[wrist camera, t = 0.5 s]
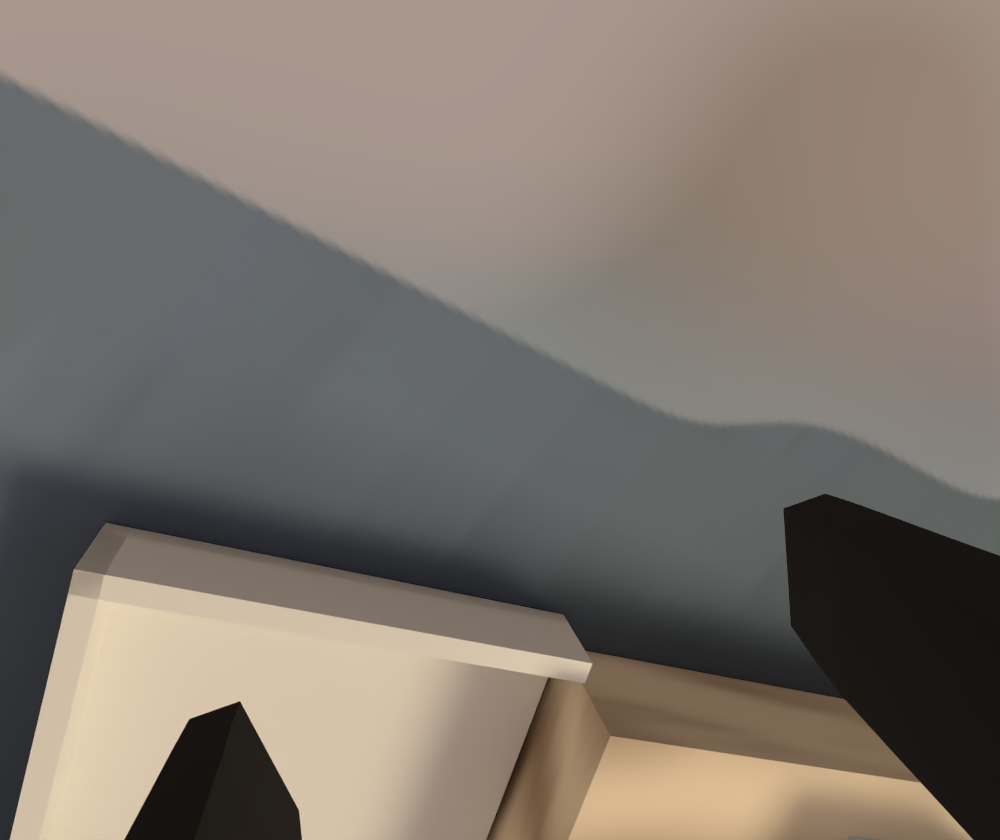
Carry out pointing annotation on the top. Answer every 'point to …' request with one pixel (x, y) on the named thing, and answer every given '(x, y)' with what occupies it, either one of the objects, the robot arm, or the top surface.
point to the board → (707, 764)
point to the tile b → (860, 838)
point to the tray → (286, 689)
